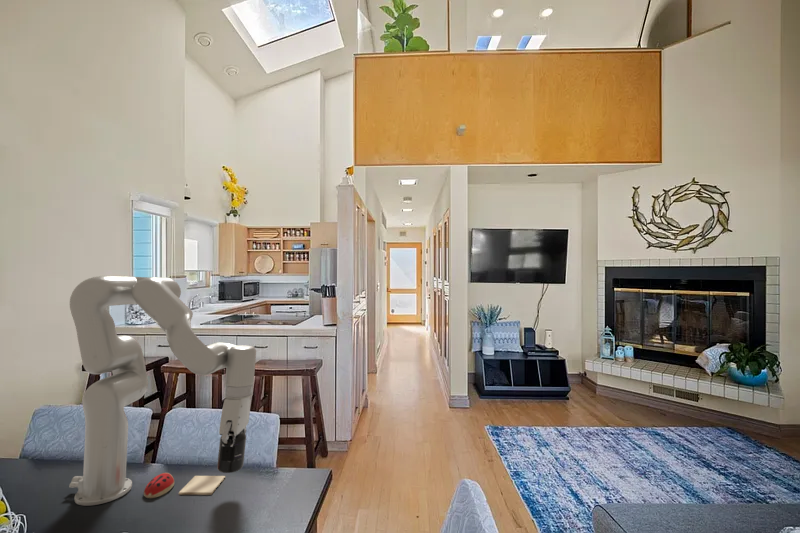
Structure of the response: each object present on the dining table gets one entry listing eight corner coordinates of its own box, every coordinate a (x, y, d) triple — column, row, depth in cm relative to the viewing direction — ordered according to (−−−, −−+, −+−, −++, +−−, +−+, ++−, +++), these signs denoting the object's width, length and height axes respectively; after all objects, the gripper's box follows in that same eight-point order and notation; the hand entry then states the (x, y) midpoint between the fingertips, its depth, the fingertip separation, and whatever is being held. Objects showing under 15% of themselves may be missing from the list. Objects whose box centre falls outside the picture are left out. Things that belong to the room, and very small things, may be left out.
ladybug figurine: (179, 481, 113) (179, 468, 114) (163, 500, 104) (164, 486, 104) (155, 482, 112) (155, 470, 113) (136, 501, 103) (137, 488, 103)
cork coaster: (178, 494, 106) (178, 492, 106) (194, 477, 115) (195, 475, 115) (211, 494, 106) (211, 492, 106) (225, 477, 115) (225, 475, 115)
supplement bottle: (233, 475, 103) (237, 430, 104) (211, 471, 104) (215, 426, 105) (248, 464, 110) (252, 421, 110) (227, 460, 111) (231, 418, 112)
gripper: (237, 381, 117) (232, 440, 116) (211, 398, 99) (205, 468, 99) (262, 382, 117) (257, 442, 116) (240, 400, 99) (234, 470, 99)
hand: (233, 453), depth 107 cm, fingers closed on supplement bottle, 6 cm apart
